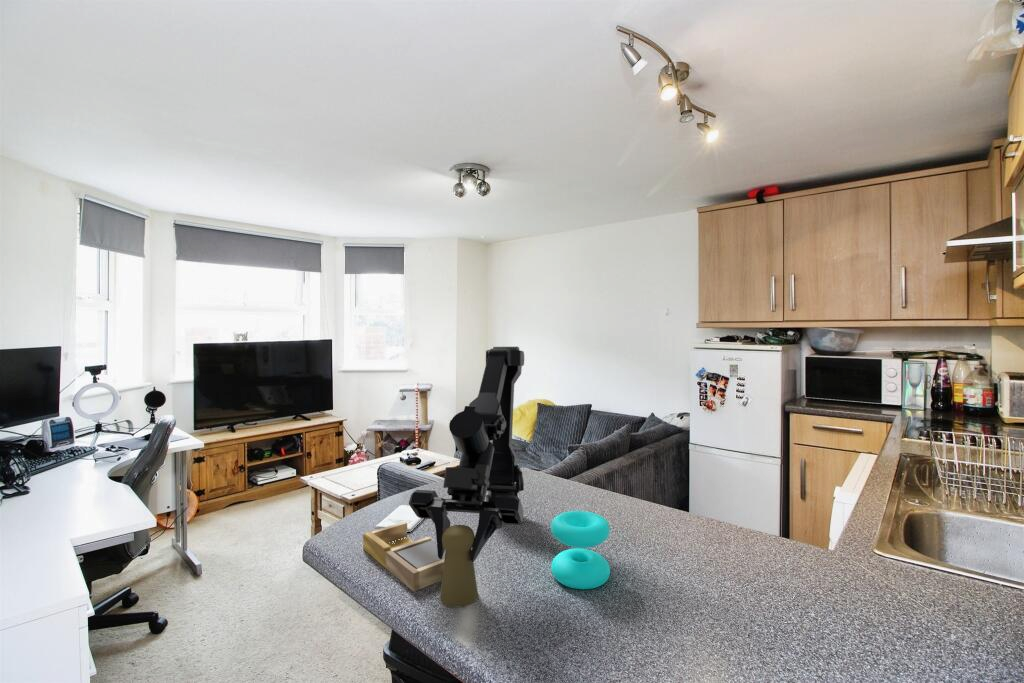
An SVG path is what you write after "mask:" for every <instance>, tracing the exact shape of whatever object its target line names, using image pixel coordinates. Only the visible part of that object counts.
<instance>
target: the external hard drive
mask: <svg viewBox="0 0 1024 683" xmlns="http://www.w3.org/2000/svg"><path fill="white" fill-rule="evenodd" d="M422 519H423V518H419V517H417V516H416V514H415V513H414V511H413V510H412V508H411V507H410V505H409V504H408V505H406V504H401V505H398V507H396V509H394V510H393V511H392V512H391V513H390V514H388V516H386V517H385V518H383V520H381V521H380V522H379V523H378V524H377V525H375V526H374V530H375V529H382V528H385V527H388V526H392V525H395V524H398V523H402V522H406V523H407V531H408V532H411V530H412V529H413V528H414V527H415V526H416V525H417V524H418V523H419V522H420V521H421V520H422ZM411 533H412V532H411Z"/></svg>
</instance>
